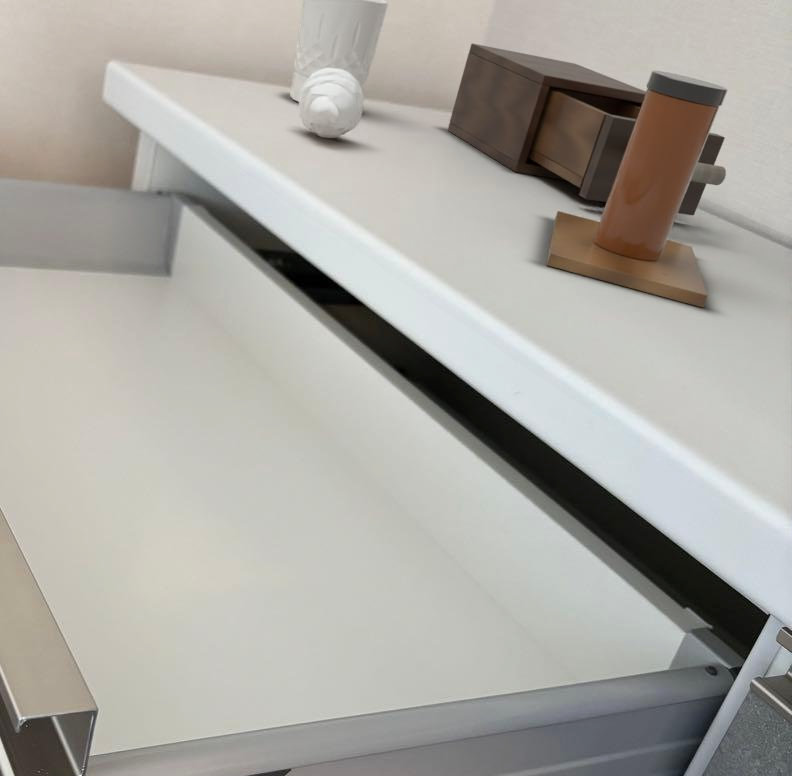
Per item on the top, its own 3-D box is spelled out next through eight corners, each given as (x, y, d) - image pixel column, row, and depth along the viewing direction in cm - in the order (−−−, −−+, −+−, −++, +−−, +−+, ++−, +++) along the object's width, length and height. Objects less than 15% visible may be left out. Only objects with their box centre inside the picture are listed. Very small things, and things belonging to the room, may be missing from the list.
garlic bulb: (288, 139, 89) (302, 68, 86) (293, 126, 94) (307, 59, 91) (353, 153, 89) (370, 83, 86) (355, 140, 94) (370, 73, 91)
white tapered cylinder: (269, 95, 106) (291, -19, 101) (308, 92, 112) (330, -15, 107) (340, 117, 103) (366, 1, 98) (375, 113, 109) (401, 4, 104)
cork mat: (687, 256, 81) (691, 246, 80) (702, 307, 69) (708, 295, 68) (554, 221, 82) (557, 210, 82) (546, 265, 70) (550, 253, 70)
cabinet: (626, 189, 100) (660, 96, 96) (514, 172, 96) (544, 74, 92) (548, 147, 113) (575, 63, 108) (447, 130, 109) (471, 43, 105)
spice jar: (659, 250, 77) (724, 85, 71) (662, 267, 72) (731, 92, 67) (591, 232, 77) (650, 67, 72) (591, 247, 73) (653, 74, 68)
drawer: (724, 232, 87) (758, 151, 84) (612, 215, 84) (643, 130, 80) (606, 169, 102) (631, 98, 99) (508, 153, 99) (530, 79, 96)
